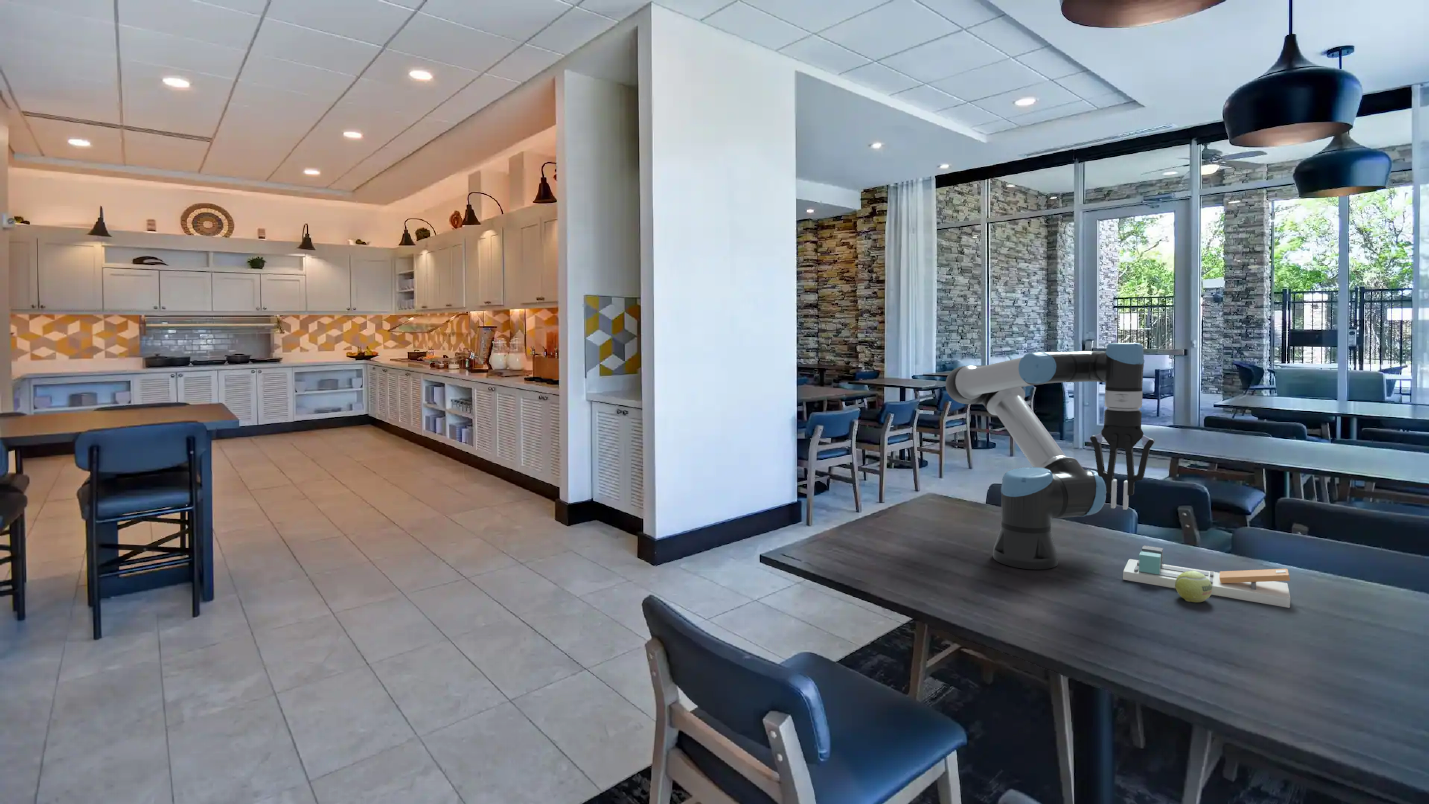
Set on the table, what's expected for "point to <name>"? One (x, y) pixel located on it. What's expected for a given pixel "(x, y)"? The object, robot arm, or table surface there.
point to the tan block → (1254, 575)
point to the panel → (1214, 584)
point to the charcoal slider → (1154, 551)
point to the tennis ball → (1193, 586)
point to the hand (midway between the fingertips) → (1119, 507)
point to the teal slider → (1149, 562)
